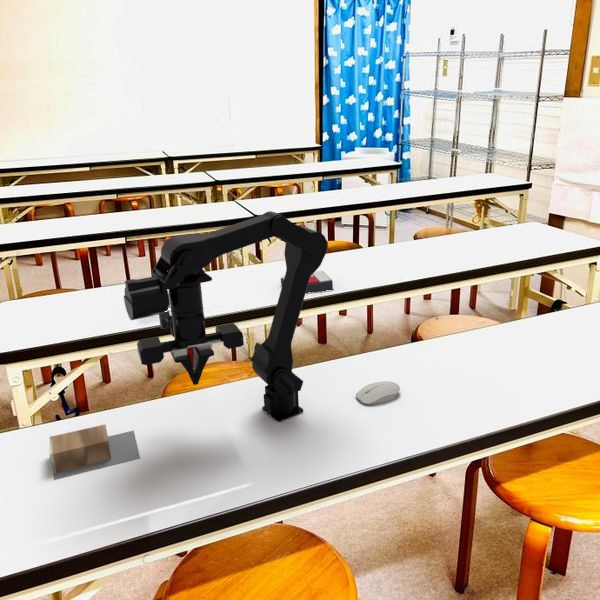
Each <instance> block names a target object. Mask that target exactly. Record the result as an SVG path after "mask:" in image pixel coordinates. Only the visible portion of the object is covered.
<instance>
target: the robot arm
mask: <svg viewBox="0 0 600 600" xmlns="http://www.w3.org/2000/svg"><path fill="white" fill-rule="evenodd" d="M273 237H276V238H277V239H278V240H281V241H282V242H284V243H285V247H284V260H285V266H286V269H285V274H284V276H285V278H284V281H283V285H282V286H281V289H280V292H279V296H278V299H277V304H276V307H275V312H274V313H273V318H272V322H271V326H270V329H269V332H268V336H267V337H266V338H265V340H264V341H263V342H262V343H260V342H256V343H255V345H254V350H253V353H252V354H253V355H252V356H251V358H250V361H251V362H252V364H251V366H252V367H251V368H252V369H253V372H254V373H255V374H256V375H257V376H258V377H259V378H260V379H261V380H263V382H264V383H265V384H267V385H265V386H264V394H263V406H262V407H261V408H262V411H263V412H264V413H266V414H268V416H270V417H271V418H272V419H274V420H275V421H276V422H280V423H281V422H282V421H285V420H287V419H289V418H292V417H294V416H296V415H300V414H302V413H304V408H302V407H301V406H300V404H299V403H300V402H299V392H300V391H302V387H303V383H304V380H303V379H301V378H300V377H299V376H298V375H297V374H295V373H294V372H293V365H294V357H293V349H292V341H293V339H294V335H295V332H296V329H297V325H298V321H299V318H300V315H301V311H302V307H303V303H304V299H305V296H306V294H305V293H306V290H307V286H308V283H309V279H310V277H311V275H312V274H313V273H314V272H316V271H318V268H320V267H321V265H322V263H323V261H324V258H325V256H326V255H327V251H328V247H329V243H328V242H329V241H328V240H327V237H326V236H325V235H324V234H323V233H321V232H319V231H316V230H314V229H311V228H308V227H307V226H304V225H298V224H296V223H294V222H292V221H291V220H289V219H287V218H286V217H285V216H284V215H282V214H280V213H278V212H275V211H272V210H271V211H270V210H269V211H266V212H265V213H263V214H261V215H258V216H255V217H252V218H248V219H246V220H243V221H241V222H240V221H239V222H237V223H235V224H231V225H227V226H225V227H222V228H220V229H216V230H214V231H211V232H206V233H205V232H204V233H187V234H183V235H182V234H181V235H180V234H179V235H175V236H171V237H168V238H166V240H165V241H164V242H163V245H162V247H161V249H160V257H159V258H158V260H157V262H156V264H155V265H154V267H153V268H152V270H151V272H150V274H151V276H149V277H144V278H138V279H133V278H131V279H127V280H125V281H124V284H125V288H124V295H123V301H124V305H125V309H126V313H127V315H128V318H129V320H131V321H135V320H139V319H140V320H141V319H144V318H147V317H152V316H158V317H159V325H160V329H162V330H164V329H165V330H167V329H170V334H171V336H172V338H173V339H174V340H167V341H166V340H165V341H161V340H160V338H159V336H153V337H147V338H141V339H139V340H138V341H137V343H136V346H137V347H136V348H137V353H138V356H139V360H140V363H141V365H144V366H149V365H153V364H158V363H159V364H160V363H161V362H162V361H163V360H164V358H165V354H164V353H170V355H171V357H172V359H173V361H174V363H175V364H178V363H180V364H181V365H182V367H184V370H185V371H186V372H187V374H188V376H189V378H190V381H191V382H192V384H193V386H196V385H199V382H200V379H201V377H202V374H203V371H204V369H205V366H206V364H207V362H208V361H209V359H210V357H213V356H215V352H214V350H213V344H217V343H222V345H223V347H225V349H226V348H227V349H228V350H230V349H236V348H240V347H241V348H242V347H243V346H244V345H245V342H244V336H243V335H244V334H243V332H242V331H241V329H240V328H239V327H238V325H237V324H235V323H234V322H231V323H230V322H229V323H224V324H220V325H216V326H215V328H214V329H215V332H211V333H206V323H205V321H206V320H205V312H204V304H203V293H202V291H203V290H202V284H204V283H207V282H208V283H209V282H212V281H213V277H212V276H210V274H208V273H206V272H205V271H204V268H207V267H208V266H209V265H210V264H211V263H213V261H214V260H215V259H217V258H219V257H221V256H223V255H226V254H229V253H231V252H234V251H238V250H239V249H242V248H245V247H248V246H251V245H254V244H258V243H259V242H262V241H266V240H268V239H271V238H273ZM167 290H168V291H167ZM168 292H169V296H168ZM169 299H170V308H171V311H170V312H171V313H170V312H169V311H167V310H168V306H169ZM165 311H167V312H165ZM191 348H192V351H193V360H192V357H191V355H190V353H189V351H188V349H191Z"/></svg>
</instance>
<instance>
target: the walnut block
mask: <svg viewBox="0 0 600 600" xmlns="http://www.w3.org/2000/svg"><path fill="white" fill-rule="evenodd" d="M108 436H109V435H108V430H107V426H106V424H101V425H96V426H91V427H87V428H83V429H79V430H75V431H70V432H65V433H61V434H57V435H53V436H49V450H48V451H49V460H50V464H51V468H52V472H53V474H54V473H57V472H61V471H65V470H69V469H73V468H77V467H81V466H86V465H90V464H94V463H98V462H102V461H106V460H110V459H111V454H110V448H109V441H108Z"/></svg>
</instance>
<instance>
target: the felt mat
mask: <svg viewBox="0 0 600 600" xmlns="http://www.w3.org/2000/svg"><path fill="white" fill-rule="evenodd" d="M107 436H108V441H109V448H110V454H111V459H110V460H106V461H102V462H98V463H94V464H90V465H86V466H81V467H77V468H73V469H69V470H65V471H61V472H57V473H53V481H56V480H60V479H64V478H68V477H72V476H75V475H79V474H84V473H87V472H91V471H97V470H101V469H103V468H108V467H112V466H116V465H119V464H124V463H128V462H133V461H135V460H136V461H137V460H140V459H141V456H140V452H139V448H138V447H139V446H138V443H137V440H136V435H135V430H131V431H125V432H120V433H116V434H113V435H107Z"/></svg>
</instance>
